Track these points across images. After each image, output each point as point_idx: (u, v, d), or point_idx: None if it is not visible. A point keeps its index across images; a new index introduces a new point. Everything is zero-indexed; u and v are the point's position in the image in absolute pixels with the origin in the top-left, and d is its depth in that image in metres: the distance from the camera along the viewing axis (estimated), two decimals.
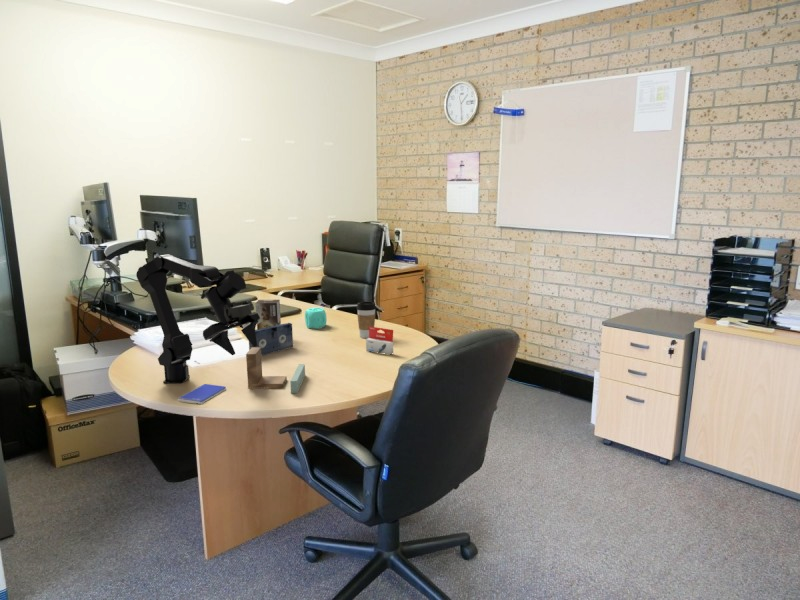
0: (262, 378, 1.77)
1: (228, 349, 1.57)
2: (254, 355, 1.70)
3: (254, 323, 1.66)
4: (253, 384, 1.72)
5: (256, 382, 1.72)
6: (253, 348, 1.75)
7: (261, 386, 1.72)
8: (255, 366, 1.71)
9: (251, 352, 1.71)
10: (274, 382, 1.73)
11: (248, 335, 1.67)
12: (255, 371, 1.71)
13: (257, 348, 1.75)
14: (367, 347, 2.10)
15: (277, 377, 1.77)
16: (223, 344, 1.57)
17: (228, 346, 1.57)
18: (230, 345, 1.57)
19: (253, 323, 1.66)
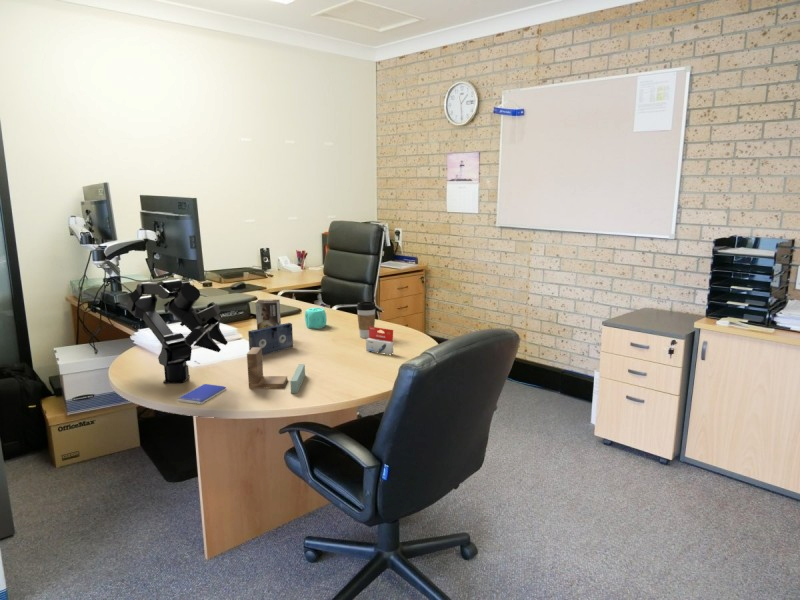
0: (263, 378, 1.77)
1: (213, 347, 1.68)
2: (255, 355, 1.70)
3: (218, 324, 1.76)
4: (253, 384, 1.72)
5: (257, 382, 1.72)
6: (254, 348, 1.76)
7: (261, 385, 1.72)
8: (256, 366, 1.71)
9: (252, 352, 1.71)
10: (275, 382, 1.73)
11: (215, 336, 1.76)
12: (256, 371, 1.71)
13: (258, 348, 1.76)
14: (367, 347, 2.10)
15: (278, 377, 1.77)
16: (207, 344, 1.67)
17: (213, 344, 1.68)
18: (214, 343, 1.68)
19: (218, 324, 1.76)
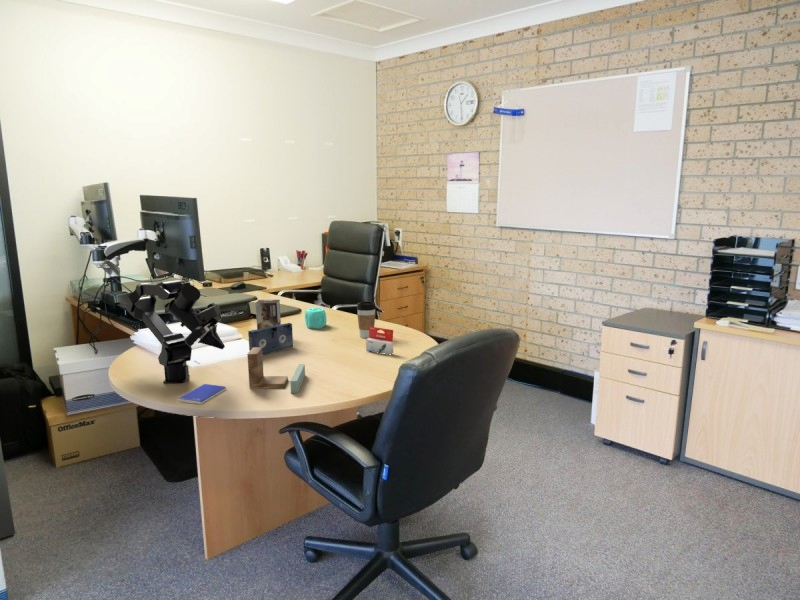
0: (263, 378, 1.77)
1: (217, 345, 1.72)
2: (255, 355, 1.70)
3: (215, 327, 1.73)
4: (254, 384, 1.72)
5: (257, 382, 1.72)
6: (254, 348, 1.75)
7: (262, 386, 1.72)
8: (256, 366, 1.71)
9: (252, 352, 1.71)
10: (276, 382, 1.73)
11: None
12: (256, 371, 1.71)
13: (258, 348, 1.76)
14: (367, 347, 2.10)
15: (278, 377, 1.77)
16: (211, 342, 1.71)
17: (217, 342, 1.71)
18: (218, 340, 1.72)
19: (214, 327, 1.73)
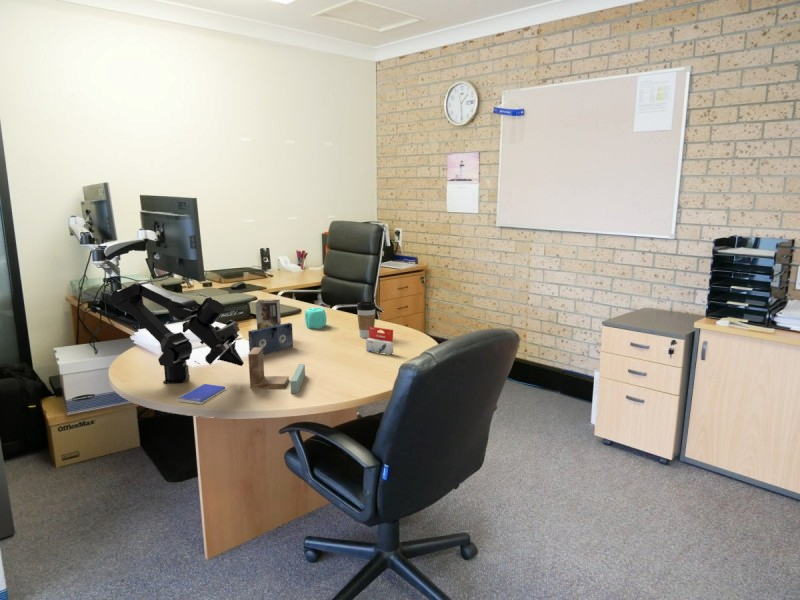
0: (264, 378, 1.77)
1: (236, 361, 1.73)
2: (256, 355, 1.70)
3: (234, 344, 1.74)
4: (255, 384, 1.72)
5: (258, 382, 1.72)
6: (255, 348, 1.75)
7: (263, 386, 1.72)
8: (257, 366, 1.71)
9: (253, 352, 1.71)
10: (277, 382, 1.73)
11: None
12: (257, 371, 1.71)
13: (259, 348, 1.75)
14: (367, 347, 2.10)
15: (279, 377, 1.77)
16: (230, 359, 1.72)
17: (236, 358, 1.72)
18: (237, 357, 1.73)
19: (233, 344, 1.74)
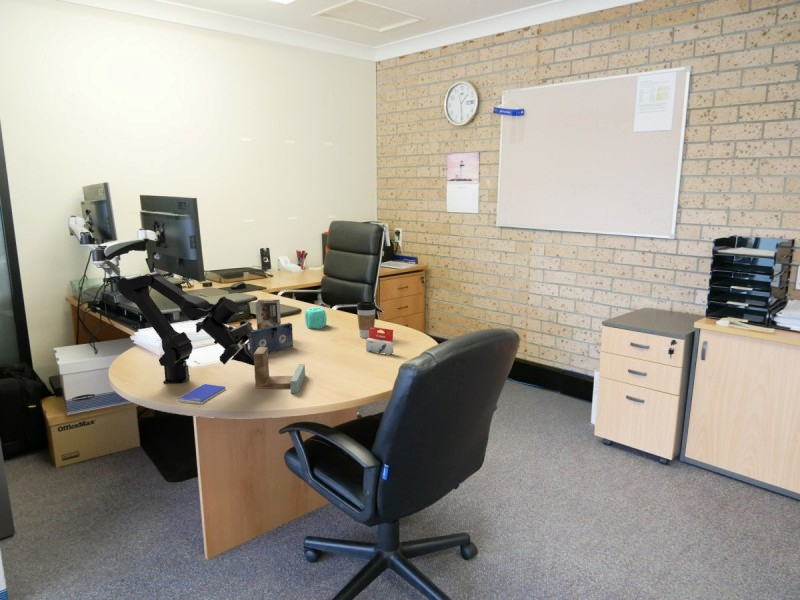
0: (269, 378, 1.77)
1: (250, 361, 1.73)
2: (262, 355, 1.70)
3: (247, 344, 1.74)
4: (260, 384, 1.72)
5: (263, 382, 1.72)
6: (260, 348, 1.75)
7: (268, 385, 1.72)
8: (263, 366, 1.71)
9: (258, 352, 1.71)
10: (282, 382, 1.73)
11: None
12: (262, 371, 1.71)
13: (264, 348, 1.75)
14: (367, 347, 2.10)
15: (284, 377, 1.77)
16: (244, 358, 1.72)
17: (249, 358, 1.72)
18: (251, 357, 1.73)
19: (247, 344, 1.74)
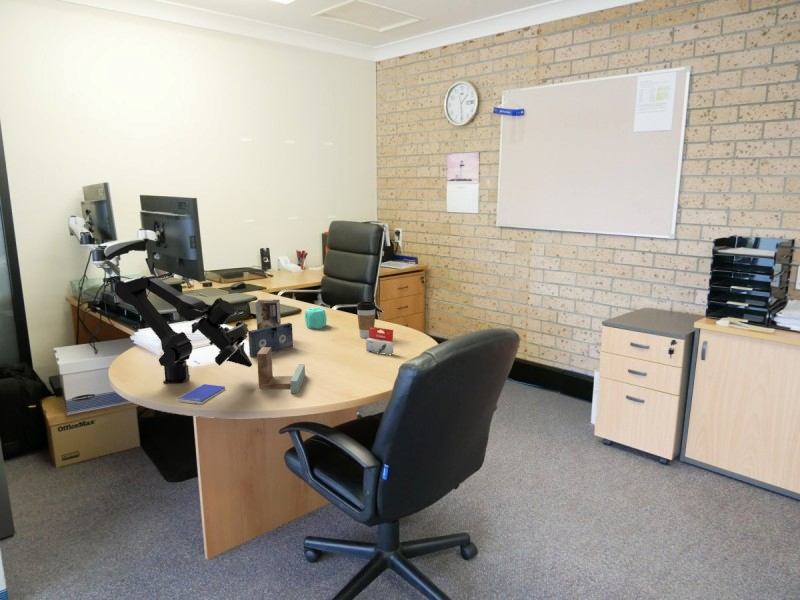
0: (272, 378, 1.77)
1: (245, 363, 1.73)
2: (265, 355, 1.70)
3: (243, 345, 1.75)
4: (264, 384, 1.72)
5: (267, 382, 1.72)
6: (264, 348, 1.76)
7: (271, 385, 1.72)
8: (266, 366, 1.71)
9: (262, 352, 1.71)
10: (285, 382, 1.73)
11: None
12: (266, 371, 1.71)
13: (268, 348, 1.76)
14: (367, 347, 2.10)
15: (287, 377, 1.77)
16: (239, 360, 1.73)
17: (245, 360, 1.73)
18: (246, 358, 1.73)
19: (242, 345, 1.74)
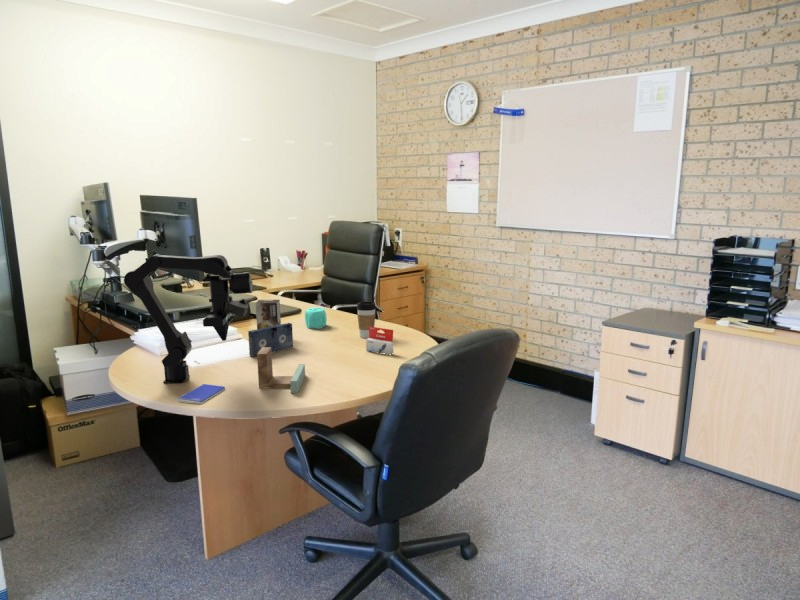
0: (272, 378, 1.77)
1: (222, 335, 1.77)
2: (265, 355, 1.70)
3: (231, 320, 1.78)
4: (264, 384, 1.72)
5: (267, 382, 1.72)
6: (264, 348, 1.76)
7: (271, 385, 1.72)
8: (266, 366, 1.71)
9: (262, 352, 1.71)
10: (285, 382, 1.73)
11: None
12: (266, 371, 1.71)
13: (268, 348, 1.76)
14: (367, 347, 2.10)
15: (287, 377, 1.77)
16: (219, 329, 1.76)
17: (224, 333, 1.77)
18: (225, 333, 1.77)
19: (231, 320, 1.78)
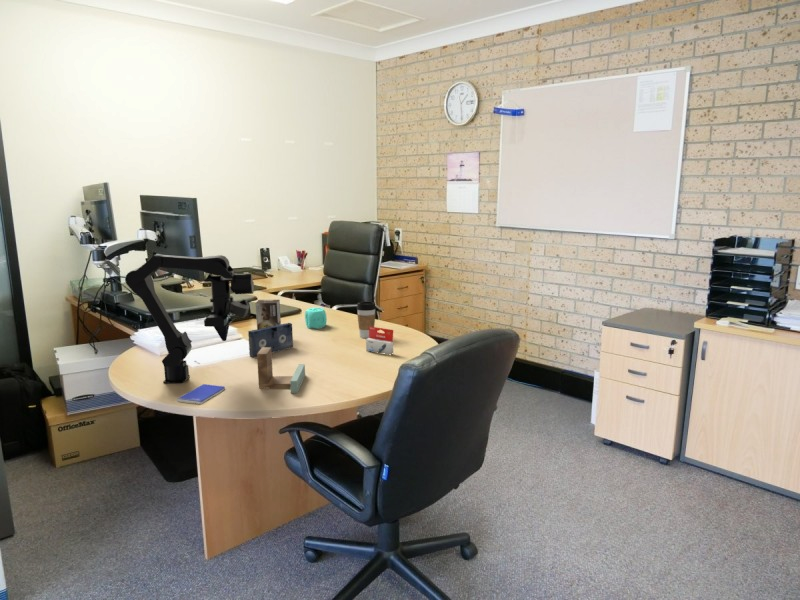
0: (272, 378, 1.77)
1: (222, 335, 1.77)
2: (265, 355, 1.70)
3: (232, 320, 1.79)
4: (263, 384, 1.72)
5: (267, 382, 1.72)
6: (264, 348, 1.76)
7: (271, 385, 1.72)
8: (266, 366, 1.71)
9: (262, 352, 1.71)
10: (285, 382, 1.73)
11: None
12: (266, 371, 1.71)
13: (268, 348, 1.76)
14: (367, 347, 2.10)
15: (287, 377, 1.77)
16: (220, 330, 1.76)
17: (224, 333, 1.77)
18: (226, 333, 1.77)
19: (232, 320, 1.78)
